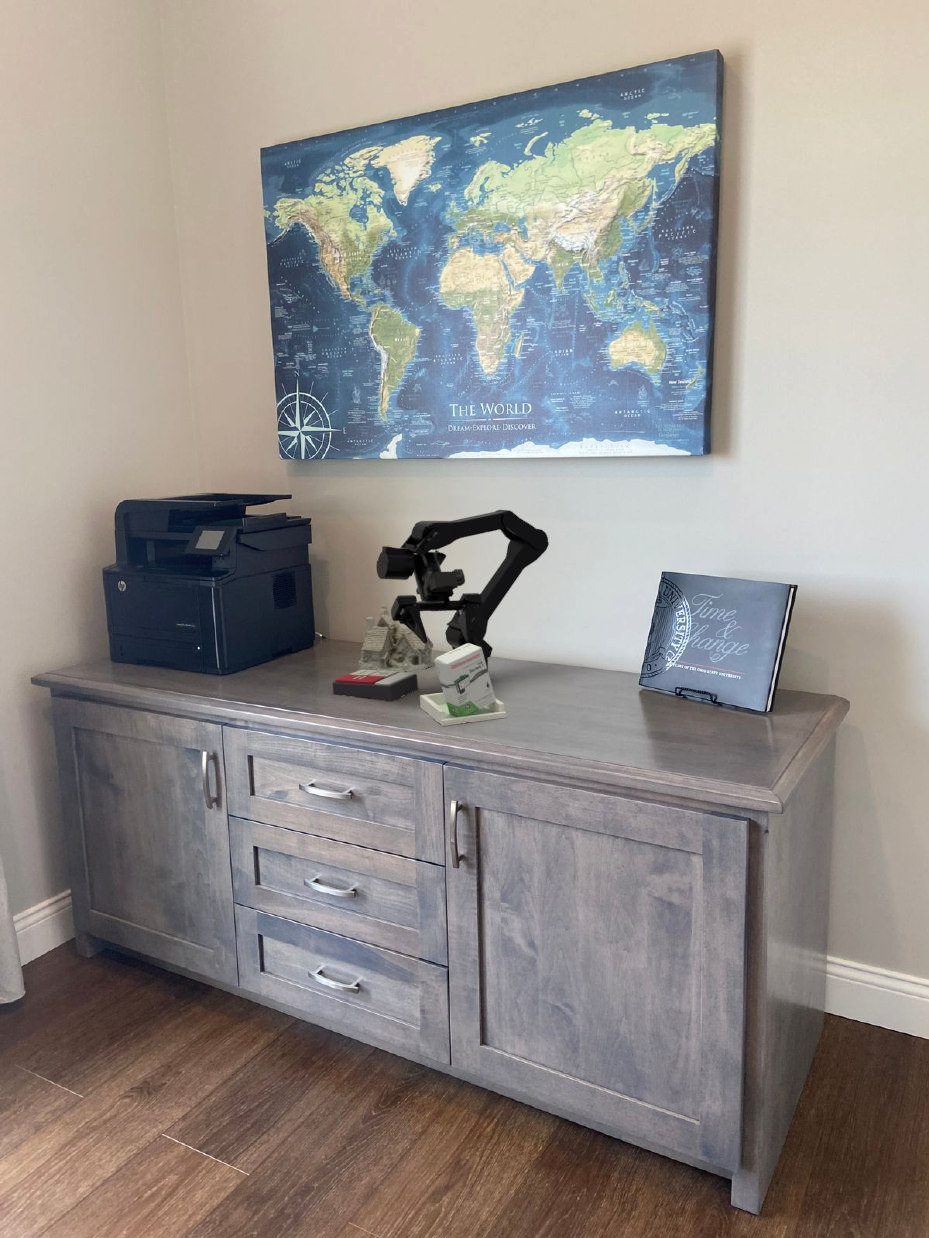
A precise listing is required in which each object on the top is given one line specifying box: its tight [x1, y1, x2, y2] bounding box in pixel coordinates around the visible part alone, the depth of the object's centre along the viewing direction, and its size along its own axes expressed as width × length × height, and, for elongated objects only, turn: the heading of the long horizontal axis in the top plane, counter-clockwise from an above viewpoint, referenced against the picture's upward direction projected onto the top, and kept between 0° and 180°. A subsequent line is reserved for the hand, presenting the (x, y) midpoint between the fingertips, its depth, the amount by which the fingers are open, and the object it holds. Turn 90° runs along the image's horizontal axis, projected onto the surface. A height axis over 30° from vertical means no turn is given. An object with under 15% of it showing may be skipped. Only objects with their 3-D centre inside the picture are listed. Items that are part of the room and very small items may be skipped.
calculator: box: [331, 670, 419, 702], centre depth 201 cm, size 11×4×15 cm
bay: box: [419, 692, 507, 727], centre depth 184 cm, size 13×14×2 cm
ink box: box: [433, 643, 497, 717], centre depth 180 cm, size 9×5×12 cm, turn 122°
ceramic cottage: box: [356, 603, 434, 673], centre depth 221 cm, size 16×16×15 cm
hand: (447, 641), depth 188 cm, fingers open, 9 cm apart
